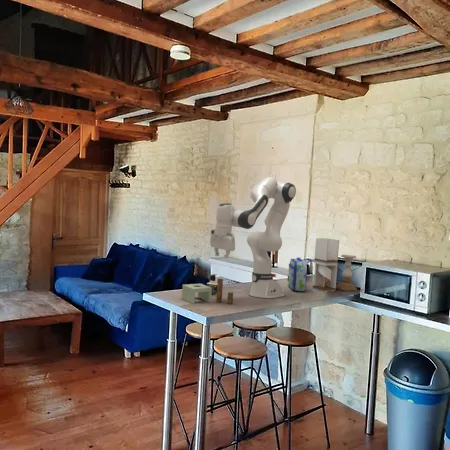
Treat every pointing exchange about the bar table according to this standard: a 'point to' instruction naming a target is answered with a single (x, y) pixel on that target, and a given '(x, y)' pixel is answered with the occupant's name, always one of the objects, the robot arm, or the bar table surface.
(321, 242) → the white stand
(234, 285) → the bar table surface
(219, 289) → the long pin
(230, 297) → the short pin
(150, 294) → the bar table surface
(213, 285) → the medicine bottle
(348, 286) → the candle holder
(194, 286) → the bridge
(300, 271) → the lunch box
